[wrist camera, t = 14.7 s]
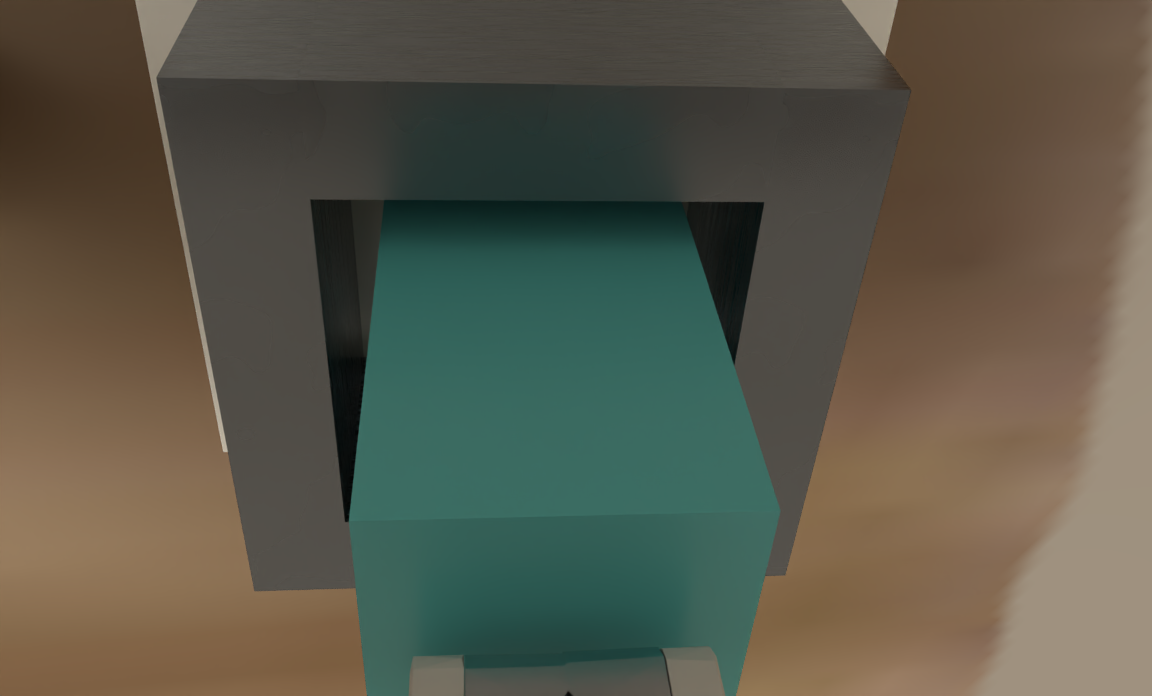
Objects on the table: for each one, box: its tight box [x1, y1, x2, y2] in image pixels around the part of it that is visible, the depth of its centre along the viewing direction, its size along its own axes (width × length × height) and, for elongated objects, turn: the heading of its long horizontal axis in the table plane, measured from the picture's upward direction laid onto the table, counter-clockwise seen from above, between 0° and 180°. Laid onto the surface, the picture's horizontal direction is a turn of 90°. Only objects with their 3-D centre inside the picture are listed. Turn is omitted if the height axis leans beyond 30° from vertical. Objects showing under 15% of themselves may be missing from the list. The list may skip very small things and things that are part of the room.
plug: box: [349, 200, 781, 696], centre depth 15 cm, size 4×4×8 cm
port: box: [156, 0, 911, 591], centre depth 16 cm, size 8×8×4 cm
